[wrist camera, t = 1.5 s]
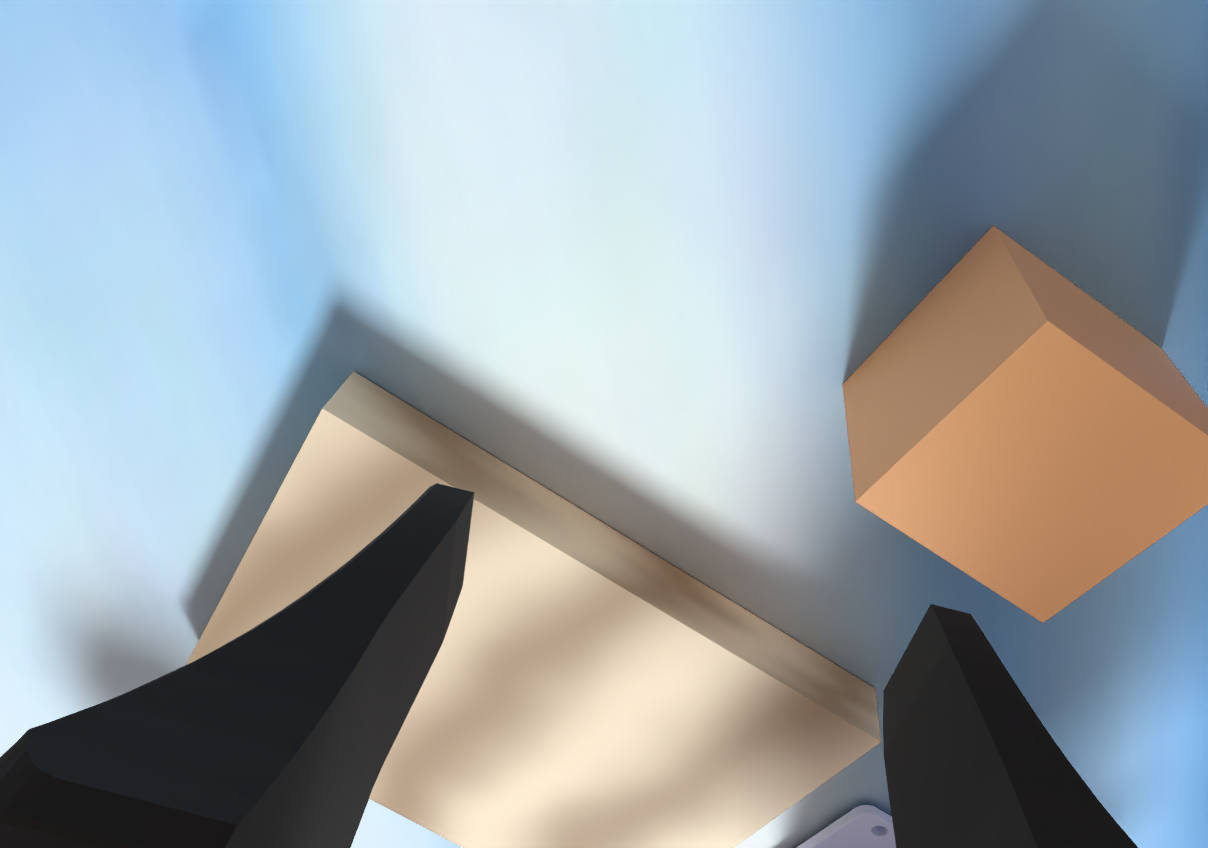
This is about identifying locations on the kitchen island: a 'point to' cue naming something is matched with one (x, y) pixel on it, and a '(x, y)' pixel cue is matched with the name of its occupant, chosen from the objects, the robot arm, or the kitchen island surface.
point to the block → (1025, 431)
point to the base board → (555, 657)
